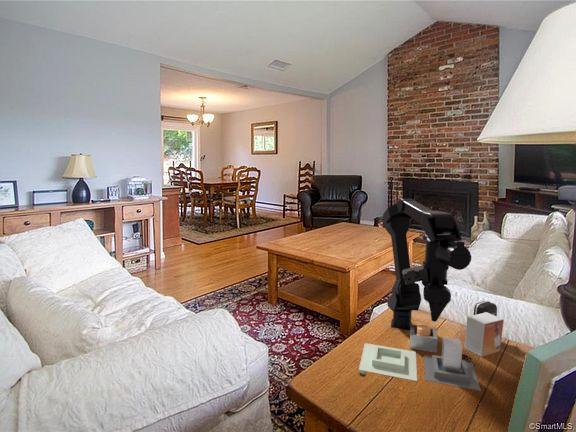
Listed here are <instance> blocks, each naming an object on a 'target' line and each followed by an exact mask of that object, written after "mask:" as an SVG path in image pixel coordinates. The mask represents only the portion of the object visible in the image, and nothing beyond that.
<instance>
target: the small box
mask: <svg viewBox="0 0 576 432" xmlns="http://www.w3.org/2000/svg"><path fill="white" fill-rule="evenodd" d="M504 320H505V319H503V318H501V317H499V316H494V315H492V314H490V313H487V312H484V313H481V314H477V315H468V316H467V318H466V329H465V336H464V337H465V338H464V348H465V349H466V350H468V351H470V352H472V353H474V354H475V355H477V356H479V357H481V358H482V357H485V356H486V357H487V356H488V355H492V354H496V353H498V352H501V347H502V346H501V345H502V337H503V330H504V329H503V327H504Z"/></svg>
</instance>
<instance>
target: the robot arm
mask: <svg viewBox="0 0 576 432" xmlns="http://www.w3.org/2000/svg"><path fill="white" fill-rule="evenodd" d="M412 220H415V221H416V222H418V223H420V229H421V230H422V231H423V232H424V233H425V235H424V236H422V240H424V241H425V251H424V252H425V253H424V255H425V256H424V260H423V261H422V265H416V266H412V267H411V261H410V260H411V259H410V254H409V253H410V252H409V246H408V245H409V244H408V238H407V237H408V236H407V234H408V232H409V230H410V228H411V222H412ZM382 222H383V223H384V228H385V230H386V232H387V233H388V234H389V235H390V238H391V247H392V254H393V262H394V263H393V264H394V272H395V279H396V280H395V282H394V283H393V285H392V288H391V295H390V296H389V297H388V298H387V301H386V302H387V307H388V308H389V309H390V310H391V311H392V319H391V323H390V324H391V325H390V328H393V329H400V330H406V331H410V328H411V324H412V325H413V322H412V315H413V314H412V312H413V311H419V308H420V306H421V302H422V295H421V289H420V285H419V283H418V282H421V284H422V286H423V289H422V290H423V293H422V294H423V299H424V301H425V302H427V303H428V305H429V309H430V310H429V311H430V317H431V321H432V322H435V323H436V322H437V321H438V319H439V317H440V316H441V315H442V313H443V311H444V310H445V308H446V307H447V305H448V304H450V302H451V298H452V293H451V291H450V289H449V288H448V287H447V286H448V282H449V281H448V279H447V277H448V270H449V267H450V268H452V269H455V270H458V271H460V270H464V269H466V268H467V267H468V266H469V265H470V264H471V261H472V254H471V251H470V250H469V248H468V247H465V245H466V242H465V241H463V239H462V236H461V235H462V234H461V231H460V229H459V227H458V224H457V221H456V219H455V217H454V215H453V214H452V213H451V212H446V211H438V210H437V211H436V210H432V209H430V208H429V207H427V206H425V205H423V204H421V203H419V202H417V200H416V199H413V198H401V199H399V200H397V202H395V203H394V204H393V205H390V206H389V207H387V208H386V210H385V211H384V212H383V214H382Z"/></svg>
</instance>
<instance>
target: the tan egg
mask: <svg viewBox="0 0 576 432" xmlns="http://www.w3.org/2000/svg"><path fill="white" fill-rule="evenodd" d="M429 327H430V326H427V325H423V324H421V325H419V326H417V334H418V335H425V336H430V331H431V329H430V328H429Z"/></svg>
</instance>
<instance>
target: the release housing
mask: <svg viewBox="0 0 576 432" xmlns="http://www.w3.org/2000/svg"><path fill="white" fill-rule="evenodd" d="M417 326H419V325H417V324H413V323H412V324H411V328H410V330H409V348H410V349H412V350H417V351H418V350H419V351H423V352H430V353H436V354H437V352H438V339H439V337H438V334H437V333H438V332H437V327H432V326H428V327H429V328H430V329H431V331H430V336H425V335H418V334H417Z"/></svg>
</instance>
